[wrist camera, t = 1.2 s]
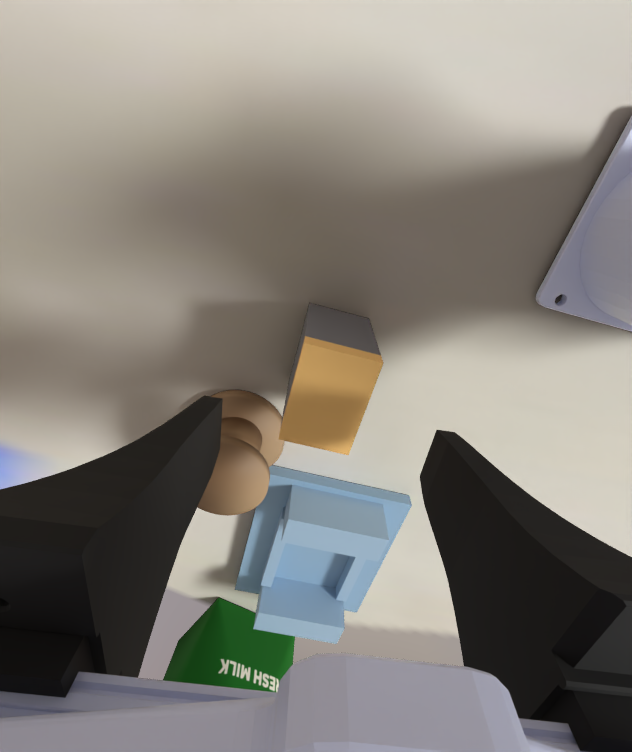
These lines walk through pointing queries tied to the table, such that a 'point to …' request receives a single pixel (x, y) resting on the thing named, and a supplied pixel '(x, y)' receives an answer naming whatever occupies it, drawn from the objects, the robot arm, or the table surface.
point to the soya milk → (231, 651)
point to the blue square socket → (316, 551)
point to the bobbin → (243, 454)
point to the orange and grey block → (330, 380)
